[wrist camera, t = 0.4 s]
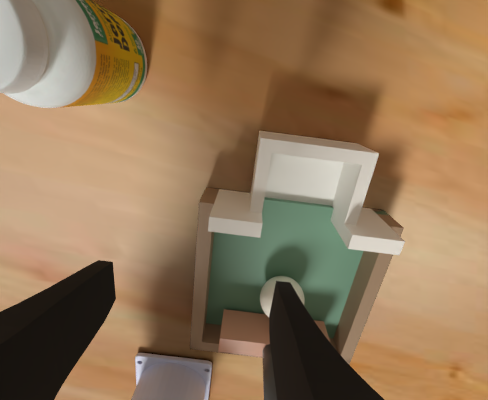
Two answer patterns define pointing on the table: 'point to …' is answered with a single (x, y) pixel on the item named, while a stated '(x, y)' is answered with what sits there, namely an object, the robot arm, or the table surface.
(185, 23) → the table surface
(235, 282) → the pitch
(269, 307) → the ball
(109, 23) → the supplement bottle
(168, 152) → the table surface
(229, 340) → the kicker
